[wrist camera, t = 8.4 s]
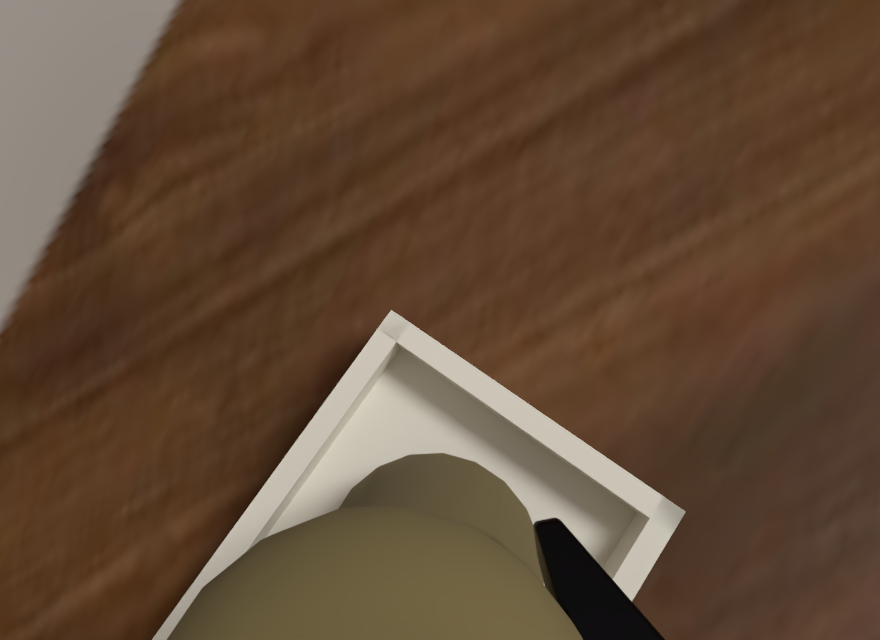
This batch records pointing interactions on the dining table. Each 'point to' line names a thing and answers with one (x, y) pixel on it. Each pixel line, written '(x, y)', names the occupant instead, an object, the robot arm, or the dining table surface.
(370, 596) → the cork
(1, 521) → the dining table surface
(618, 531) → the tray
